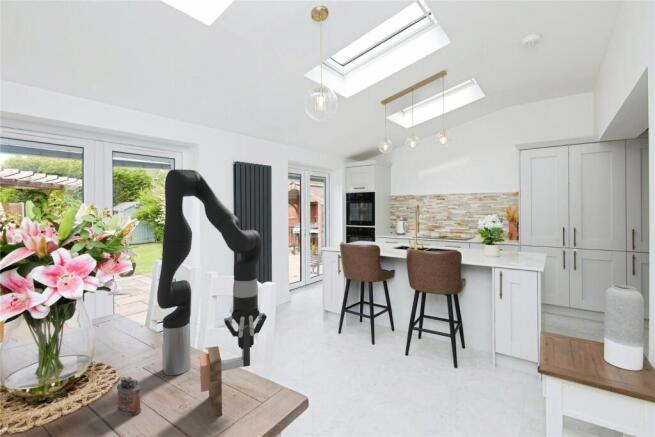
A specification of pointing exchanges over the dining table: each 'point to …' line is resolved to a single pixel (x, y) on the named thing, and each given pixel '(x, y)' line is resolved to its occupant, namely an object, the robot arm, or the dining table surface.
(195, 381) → the dining table surface
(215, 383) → the block
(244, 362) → the l-shaped bracket
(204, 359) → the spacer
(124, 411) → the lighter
